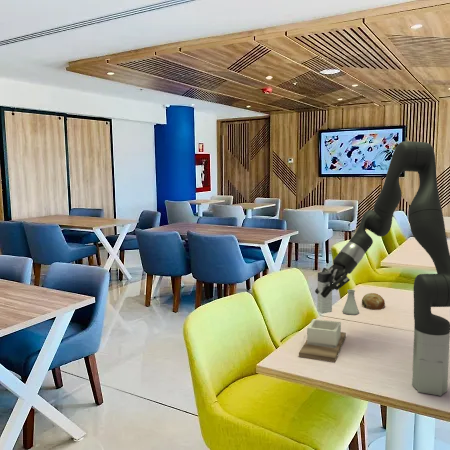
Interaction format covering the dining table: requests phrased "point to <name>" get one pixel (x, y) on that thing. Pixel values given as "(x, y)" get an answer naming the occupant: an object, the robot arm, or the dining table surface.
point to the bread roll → (373, 301)
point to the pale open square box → (324, 333)
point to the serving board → (322, 351)
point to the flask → (350, 304)
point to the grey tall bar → (323, 281)
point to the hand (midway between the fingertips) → (319, 294)
